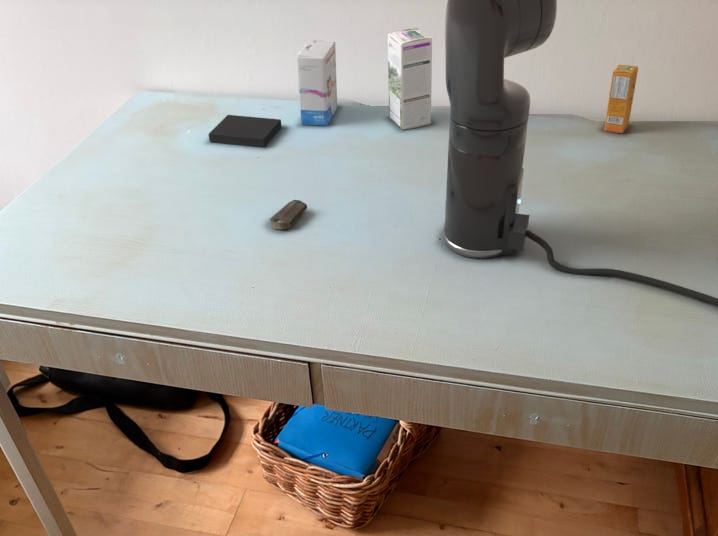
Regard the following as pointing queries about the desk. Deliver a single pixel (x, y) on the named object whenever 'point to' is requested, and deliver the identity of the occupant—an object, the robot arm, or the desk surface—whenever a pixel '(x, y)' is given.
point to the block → (288, 215)
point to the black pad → (245, 131)
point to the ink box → (317, 82)
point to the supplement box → (620, 98)
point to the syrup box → (410, 78)
